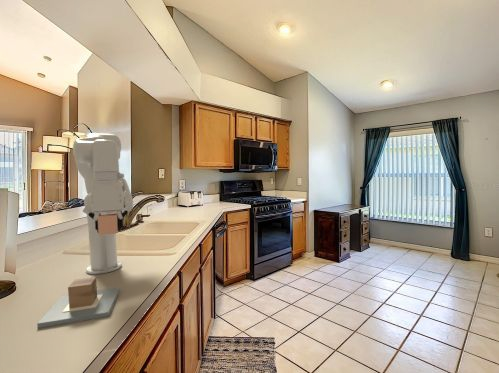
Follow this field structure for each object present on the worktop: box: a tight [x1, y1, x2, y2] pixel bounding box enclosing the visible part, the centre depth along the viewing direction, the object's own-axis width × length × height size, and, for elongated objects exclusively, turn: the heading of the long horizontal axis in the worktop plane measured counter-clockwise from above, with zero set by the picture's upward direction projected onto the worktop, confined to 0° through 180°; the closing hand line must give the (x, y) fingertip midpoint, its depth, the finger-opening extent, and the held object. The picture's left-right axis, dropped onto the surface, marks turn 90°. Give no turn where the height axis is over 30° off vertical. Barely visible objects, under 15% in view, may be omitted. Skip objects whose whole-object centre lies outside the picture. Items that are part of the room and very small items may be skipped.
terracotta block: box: [98, 213, 120, 235], centre depth 88 cm, size 6×6×6 cm
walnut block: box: [67, 276, 98, 309], centre depth 75 cm, size 6×6×6 cm
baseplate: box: [36, 287, 121, 329], centre depth 75 cm, size 16×16×1 cm
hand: (109, 230), depth 88 cm, fingers closed on terracotta block, 5 cm apart
